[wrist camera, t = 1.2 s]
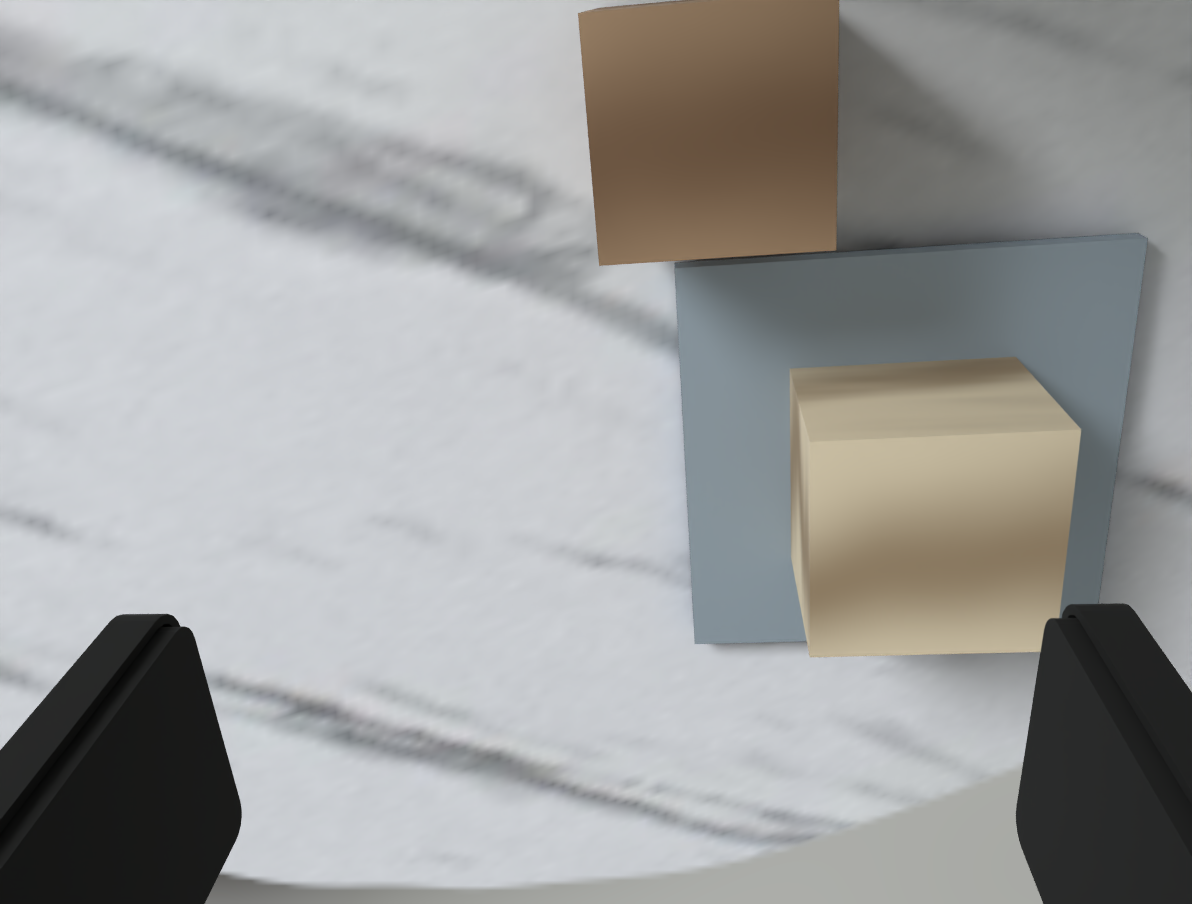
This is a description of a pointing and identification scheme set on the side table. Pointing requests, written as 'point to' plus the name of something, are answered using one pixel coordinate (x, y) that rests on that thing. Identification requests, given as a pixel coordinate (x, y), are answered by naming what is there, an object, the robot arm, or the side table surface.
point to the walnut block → (712, 128)
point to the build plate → (878, 336)
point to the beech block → (928, 506)
